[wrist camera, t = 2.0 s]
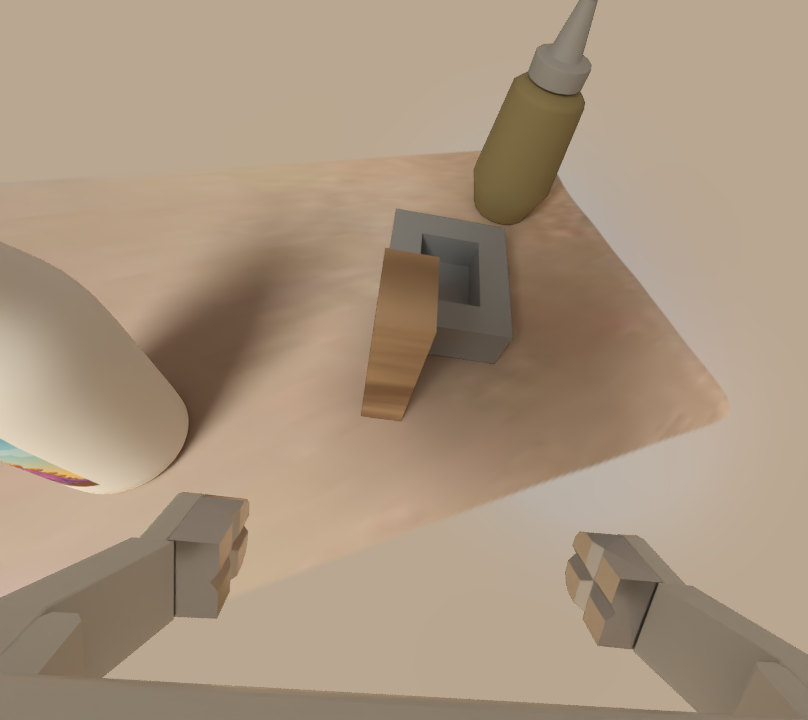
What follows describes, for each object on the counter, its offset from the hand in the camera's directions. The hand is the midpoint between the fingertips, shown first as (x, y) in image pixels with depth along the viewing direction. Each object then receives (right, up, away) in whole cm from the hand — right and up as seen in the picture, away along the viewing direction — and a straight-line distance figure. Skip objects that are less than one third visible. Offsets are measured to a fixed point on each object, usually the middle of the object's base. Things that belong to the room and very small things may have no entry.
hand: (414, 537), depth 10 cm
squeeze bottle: (+10, +21, +34) cm, 41 cm away
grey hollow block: (+3, +10, +26) cm, 28 cm away
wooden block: (-2, +2, +21) cm, 21 cm away
